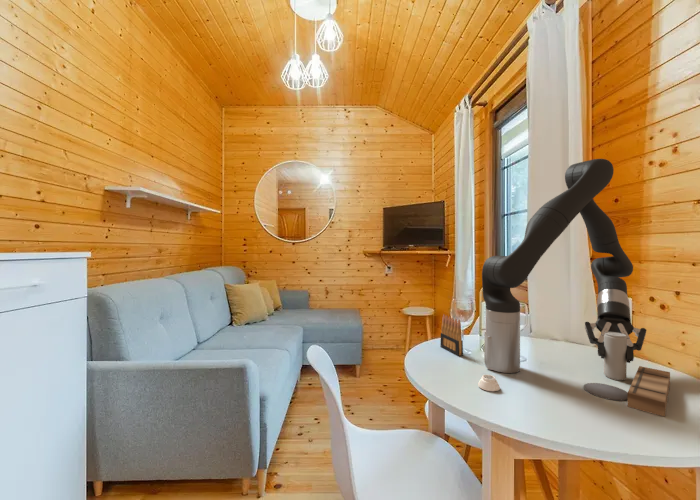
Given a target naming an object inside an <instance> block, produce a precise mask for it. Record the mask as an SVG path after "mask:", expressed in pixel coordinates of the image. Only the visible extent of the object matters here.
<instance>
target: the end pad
mask: <svg viewBox="0 0 700 500" xmlns="http://www.w3.org/2000/svg"><path fill="white" fill-rule="evenodd" d="M583 389H584V390H585V391H586V392H587V393H589V394H591V395H593V396H596V397H599V398H602V399H606V400H610V401H616V402H625V401H628V391H627V390H625V389H624V388H623V389H622V388H620V387H617V386H613V385H612V384H611V385H609V384H605V383H602V382H601V383H600V382H587V383H585V384H584V385H583Z"/></svg>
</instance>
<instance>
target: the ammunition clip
mask: <svg viewBox="0 0 700 500" xmlns="http://www.w3.org/2000/svg"><path fill="white" fill-rule="evenodd" d="M441 321H442V322H441V332H440V344H439V345H440V348H442V349H443V350H446V351H447V352H449V353H451V354H453V355H455V356H457V357H463V356H464V345H463V344H464V343H463V342H464V341H463V339H462V338H463V336H462V335H463V333H462V324H461V320H460V319H457V317H456V318H455V319H454V317H451V315H450V316H448V315H447V314H443V315H442V320H441Z"/></svg>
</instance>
